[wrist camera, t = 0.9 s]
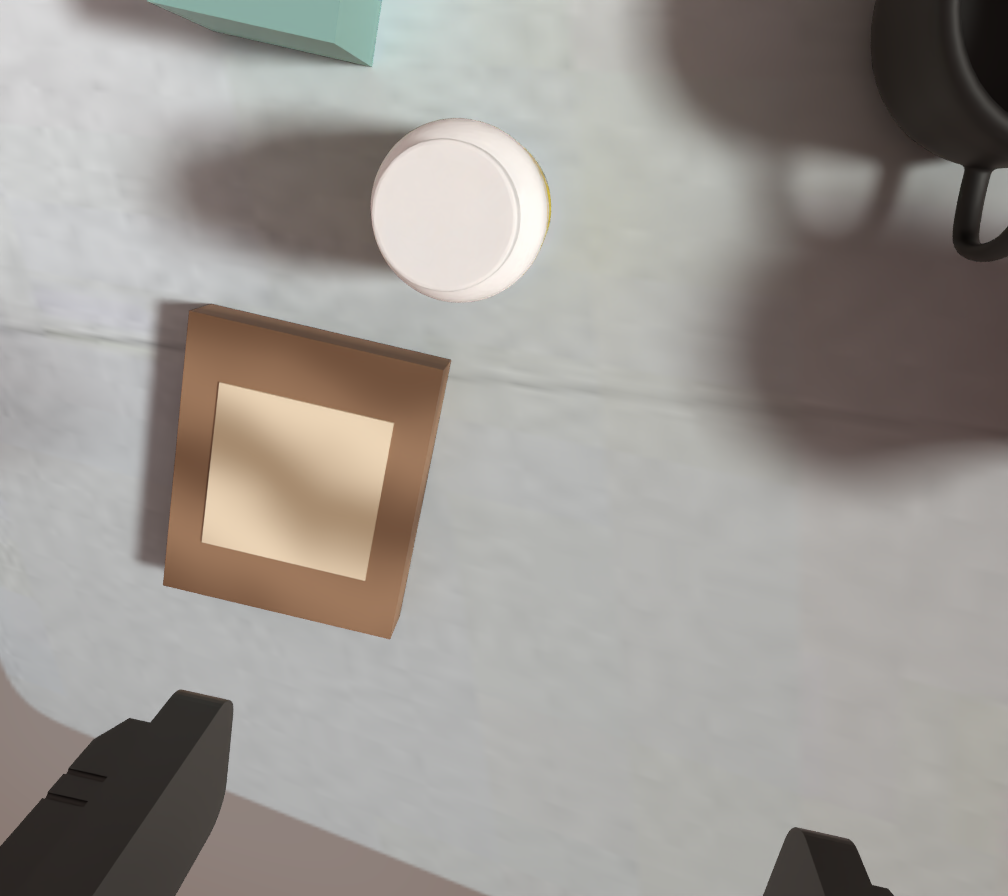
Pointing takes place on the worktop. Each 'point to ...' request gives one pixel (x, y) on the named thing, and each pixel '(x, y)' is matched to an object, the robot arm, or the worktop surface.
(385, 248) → the supplement bottle
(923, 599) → the worktop surface
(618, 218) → the worktop surface
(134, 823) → the robot arm
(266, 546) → the base board
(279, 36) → the teal block
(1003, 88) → the mug
